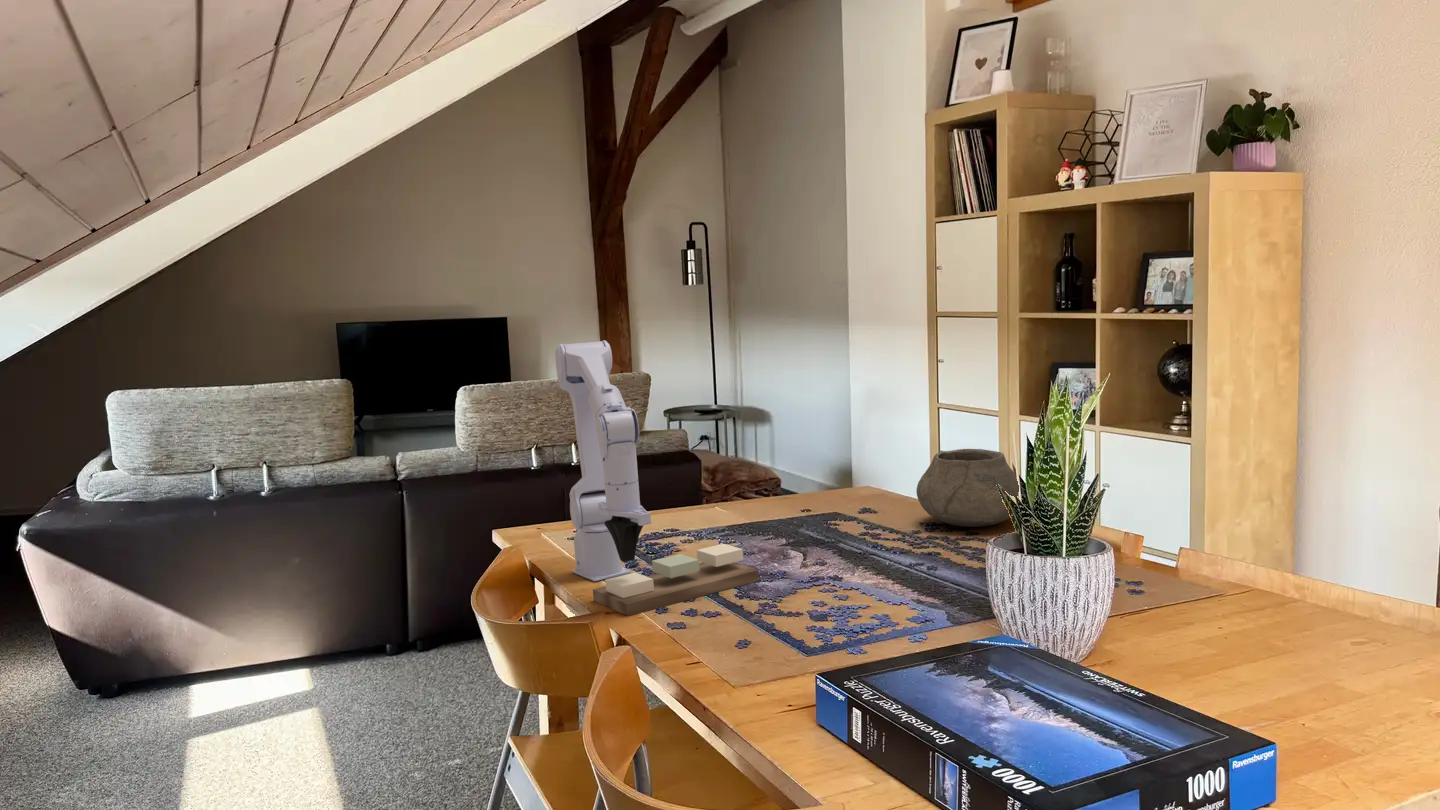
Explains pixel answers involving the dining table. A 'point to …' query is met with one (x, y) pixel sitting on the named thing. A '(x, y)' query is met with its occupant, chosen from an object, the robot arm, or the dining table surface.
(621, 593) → the key
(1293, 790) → the dining table surface
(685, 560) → the key middle
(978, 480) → the clay pot
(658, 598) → the board
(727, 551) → the key
